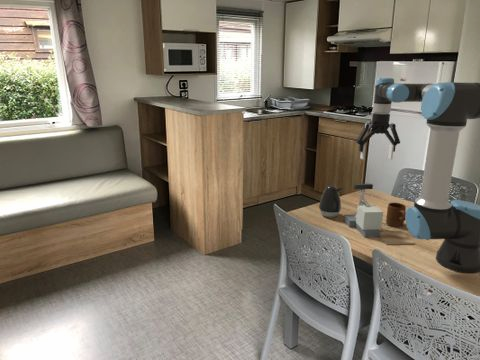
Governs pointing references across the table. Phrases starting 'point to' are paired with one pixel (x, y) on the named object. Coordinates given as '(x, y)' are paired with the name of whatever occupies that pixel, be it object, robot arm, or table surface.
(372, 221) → the light grey cube
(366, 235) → the housing
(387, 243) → the mat
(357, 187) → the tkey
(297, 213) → the table surface
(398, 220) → the mug
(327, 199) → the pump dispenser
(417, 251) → the table surface
